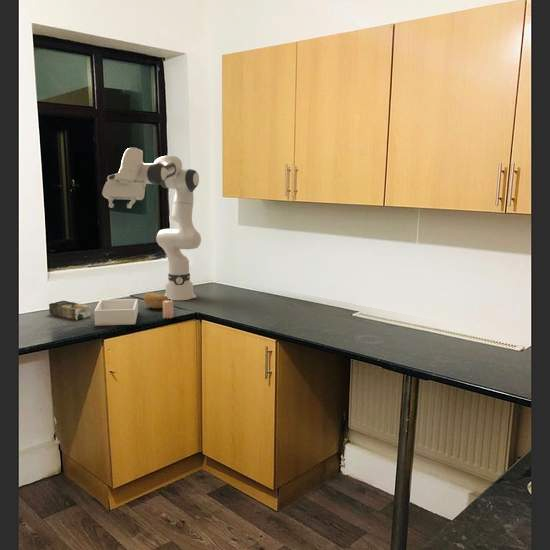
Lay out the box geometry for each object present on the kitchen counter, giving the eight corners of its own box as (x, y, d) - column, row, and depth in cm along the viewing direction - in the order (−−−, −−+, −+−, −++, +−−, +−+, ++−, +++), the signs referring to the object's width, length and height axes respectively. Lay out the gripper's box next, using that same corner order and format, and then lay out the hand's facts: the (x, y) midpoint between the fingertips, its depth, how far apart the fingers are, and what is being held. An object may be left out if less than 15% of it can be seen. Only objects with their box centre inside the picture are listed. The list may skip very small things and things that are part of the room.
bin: (100, 313, 275) (100, 299, 273) (138, 312, 278) (137, 299, 277) (94, 325, 253) (94, 310, 252) (135, 324, 257) (134, 309, 255)
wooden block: (163, 316, 272) (162, 300, 271) (173, 315, 273) (173, 300, 272) (162, 318, 267) (162, 302, 266) (173, 318, 268) (173, 302, 267)
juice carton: (93, 316, 270) (92, 304, 269) (77, 321, 261) (76, 308, 260) (64, 311, 279) (64, 299, 278) (48, 315, 271) (47, 303, 270)
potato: (161, 312, 280) (161, 296, 279) (139, 308, 286) (139, 293, 285) (173, 308, 289) (173, 293, 287) (151, 304, 295) (151, 290, 293)
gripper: (150, 183, 253) (143, 211, 250) (111, 182, 260) (104, 209, 256) (143, 177, 248) (136, 205, 244) (104, 176, 254) (96, 203, 250)
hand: (119, 207), depth 250 cm, fingers open, 8 cm apart
